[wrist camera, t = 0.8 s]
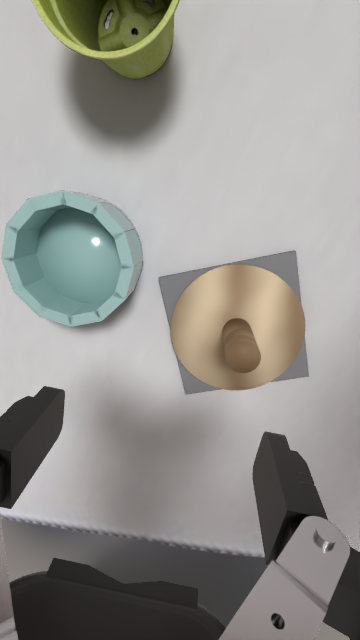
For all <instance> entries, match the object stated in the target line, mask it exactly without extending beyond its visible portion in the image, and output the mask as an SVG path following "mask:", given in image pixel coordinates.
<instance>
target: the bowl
mask: <svg viewBox="0 0 360 640" xmlns="http://www.w3.org/2000/svg"><path fill="white" fill-rule="evenodd" d="M1 259H2V262H3V265H4V267H5V270H6V273H7V275H8V278H9V281H10V283H11V286H12V289H13V292H14V293H15V294H16V295H17V296H18V297H19V298H20V299H21V300H22V301H23V302H25V303H26V304H27V305H28V306H29V307H30V308H31V309H32V310H33V311H34V312H35V313H36V314H37V315H38V316H39V317H42V318H45V319H48V320H51V321H54V322H57V323H60V324H64V325H67V326H70V327H73V326H78V325H84V324H89V323H94V322H100V321H103V320H104V319H105V318H106V317H107V316H108V315H109V314H110V313H111V312H112V311H114V310H115V309H116V308H117V307H118V306H119V305H120V304H121V303H122V302H123V301H125V300H126V298H127V297H128V296H129V295H130V294H131V293H132V292H133V291H134V289H135V286H136V283H137V281H138V279H139V276H140V274H141V269H142V262H143V253H142V246H141V242H140V239H139V236H138V233H137V231H136V229H135V227H134V226H133V224H132V222H131V221H130V220H129V219H128V217H127V216H126V215H125V214H124V213H123V212H122V211H121V210H120V209H118V208H117V207H116V206H115V205H114V204H112V203H110V202H108V201H105V200H103V199H101V198H97V197H93V196H90V195H87V194H84V193H80V192H72V191H65V190H61V191H57V192H53V193H49V194H45V195H41V196H37V197H33V198H29V199H28V200H27V201H26V202H25V203H24V204H23V205H22V206H21V208H20V209H19V210H18V211H17V212H16V213H15V215H14V216H13V217H12V218H11V219H10V220H9V221H8V223H7V225H6V228H5V235H4V243H3V250H2V257H1Z"/></svg>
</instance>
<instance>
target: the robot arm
mask: <svg viewBox="0 0 360 640" xmlns="http://www.w3.org/2000/svg"><path fill="white" fill-rule="evenodd" d="M64 400H65V391H64V390H62V389H57V388H52V387H47V386H44V387H43V388H42V389H41V390H40V391H39V392H38V393H37V394H36V395H35V396H34V397H30V396H27V397H25V398H23V399H21V400H19V401H17V402H15V403H14V404H13V405H12V406H11V407H10V408H9V409H8V410H7V411H6V413H4V414H3V415H2V416H1V417H0V507H4V508H8V509H11V508H12V507H13V505H14V504H15V502H16V501H17V499H18V498H19V496H20V495H21V493H22V492H23V490H24V489H25V487H26V485H27V484H28V482H29V481H30V479H31V478H32V476H33V475H34V473H35V472H36V470H37V469H38V467H39V466H40V464H41V463H42V461H43V460H44V458H45V457H46V455H47V454H48V452H49V451H50V449H51V448H52V446H53V445H54V443H55V442H56V440H57V438H58V437H59V435H60V432H61V429H62V425H63V415H64ZM253 484H254V490H255V496H256V503H257V509H258V515H259V521H260V528H261V534H262V540H263V547H264V553H265V559H266V564H267V565H269V566H268V567H267V569H266V570H265V571H264V573H263V574H262V576H261V578H260V579H259V580H258V582H257V583H256V585H255V586H254V588H253V589H252V591H251V592H250V594H249V595H248V597H247V598H246V600H245V601H244V603H243V604H242V606H241V607H240V609H239V610H238V611H237V613H236V614H235V616H234V617H233V619H232V620H231V622H230V623H229V625H228V626H227V628H226V627H225V626H224V624H223V623H222V622H221V621H220V620H219V619H218V618H217V617H216V616H215V615H214V614H213V613H211V612H210V611H209V610H208V609H206V608H205V607H203V606H202V605H200V604H198V603H197V599H198V589H196V588H192V587H187V586H182V585H178V584H173V583H169V582H163V581H157V582H144V583H130V584H123V583H120V582H118V581H116V580H115V579H113V578H111V577H109V576H107V575H105V574H104V573H102V572H100V571H98V570H96V569H95V568H93V567H91V566H89V565H85V564H80V563H76V562H71V561H66V560H62V559H57V558H53V561H52V563H51V565H50V567H49V570H48V571H42V572H36V573H32V574H29V575H26V576H23V577H21V578H18V579H16V580H14V581H12V582H10V583H9V577H8V569H7V562H6V554H5V547H4V539H3V531H2V523H1V516H0V640H315V639H316V636H317V634H318V632H319V629H320V627H321V624H322V622H324V623H326V624H327V625H329V626H331V627H332V628H334V629H336V630H338V631H339V632H341V633H343V634H344V635H346V636H348V637H349V638H350V640H360V552H358V551H356V550H355V549H353V548H351V547H350V545H349V543H348V540H347V539H346V537H345V535H344V534H343V533H342V532H341V530H340V529H339V528H338V527H337V526H335V525H334V524H333V523H331V522H330V521H328V518H327V516H326V513H325V510H324V508H323V505H322V503H321V500H320V497H319V495H318V492H317V489H316V487H315V486H314V481H313V479H312V476H311V473H310V471H309V468H308V466H307V463H306V462H305V460H304V459H303V458H302V457H301V456H300V454H299V453H298V452H297V451H292V450H290V448H289V445H288V442H287V439H286V437H285V435H280V434H275V433H271V432H264V434H263V436H262V439H261V442H260V446H259V449H258V452H257V455H256V458H255V461H254V466H253Z"/></svg>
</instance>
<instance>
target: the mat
mask: <svg viewBox="0 0 360 640" xmlns="http://www.w3.org/2000/svg"><path fill="white" fill-rule="evenodd" d="M230 264H248V265H254V266H258V267H261V268H264V269H266V270H269V271H271V272H272V273H274V274H276V275H277V276H279V277H280V278H281V279H282V280H284V281H285V282H286V283H287V284H288V285H289V286H290V287H291V288H292V290H293V291H294V293H295V294H296V295H297V297H298V299H299V301H300V303H301V296H300V286H299V277H298V267H297V257H296V251H289V252H284V253H279V254H274V255H269V256H264V257H259V258H254V259H248V260H243V261H238V262H233V263H228V264H223V265H218V266H213V267H208V268H203V269H198V270H193V271H188V272H183V273H178V274H173V275H168V276H163V277H159V282H160V286H161V291H162V295H163V299H164V304H165V308H166V312H167V316H168V321H169V325H170V329H171V320H172V315H173V312H174V308H175V306H176V303H177V301H178V299H179V297H180V296H181V294H182V293H183V291H184V290H185V289H186V287H187V286H188V285H189V284H190V283H191V282H192V281H193V280H195V279H196V278H197V277H199V276H200V275H202V274H204V273H205V272H207V271H209V270H212V269H214V268H216V267H220V266H224V265H230ZM176 355H177V354H176ZM177 359H178V363H179V368H180V372H181V376H182V381H183V385H184V389H185V393H186V394H192V393H199V392H205V391H212V390H219V389H221V388H217V387H214V386H211V385H208V384H206V383H204V382H202V381H201V380H199V379H197V378H196V377H195V376H193V375H192V374H191V373H190V372H189V371H188V370H187V369H186V368H185V367H184V366H183V364H182V363H181V361H180V360H179V358H178V357H177ZM308 376H309V373H308V364H307V354H306V344H305V335H304V340H303V344H302V346H301V349H300V351H299V353H298V355H297V357H296V359H295V360H294V361H293V363H292V364H291V365H290V367H289V368H288V369H287V370H286V371H285V372H284V373H282V374H281V375H280V376H278V377H277V378H275V379H274V380H272V381H271V382H274V381H281V380H287V379H294V378H301V377H308Z"/></svg>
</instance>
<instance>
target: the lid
mask: <svg viewBox="0 0 360 640" xmlns="http://www.w3.org/2000/svg"><path fill="white" fill-rule="evenodd" d="M304 335H305V317H304V312H303V309H302V306H301V303H300V301H299V299H298V297H297V295H296V294H295V293H294V291H293V290H292V288H291V287H290V286H289V285H288V284H287V283H286V282H285V281H284V280H282V279H281V278H280V277H279V276H277V275H276V274H274V273H272V272H271V271H269V270H266V269H264V268H261V267H258V266H254V265H248V264H230V265H224V266H220V267H216V268H214V269H212V270H209V271H207V272H205V273H204V274H202V275H200V276H199V277H197V278H196V279H195V280H193V281H192V282H191V283H190V284H189V285H188V286H187V287H186V289H185V290H184V291H183V293H182V294H181V296H180V297H179V299H178V301H177V303H176V306H175V308H174V312H173V315H172V320H171V338H172V344H173V347H174V350H175V352H176V354H177V357H178V358H179V360H180V361H181V363H182V364H183V366H184V367H185V368H186V369H187V370H188V371H189V372H190V373H191V374H192V375H193V376H195V377H196V378H197V379H199V380H201V381H202V382H204V383H206V384H208V385H211V386H214V387H217V388H221V389H227V390H246V389H251V388H256V387H259V386H262V385H264V384H266V383H269V382H271V381H272V380H274V379H275V378H277V377H278V376H280V375H281V374H282V373H284V372H285V371H286V370H287V369H288V368H289V367H290V365H291V364H292V363H293V361H294V360H295V359H296V357H297V355H298V353H299V351H300V349H301V346H302V344H303V340H304Z"/></svg>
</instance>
